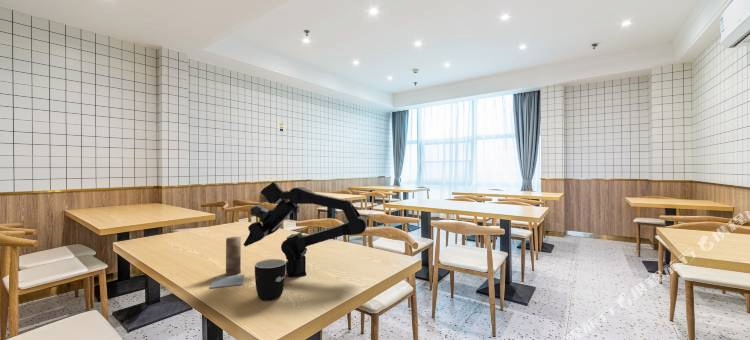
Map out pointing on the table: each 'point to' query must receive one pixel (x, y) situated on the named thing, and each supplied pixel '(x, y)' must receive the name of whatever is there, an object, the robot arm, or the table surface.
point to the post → (233, 255)
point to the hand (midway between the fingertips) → (250, 242)
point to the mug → (270, 278)
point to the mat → (227, 281)
